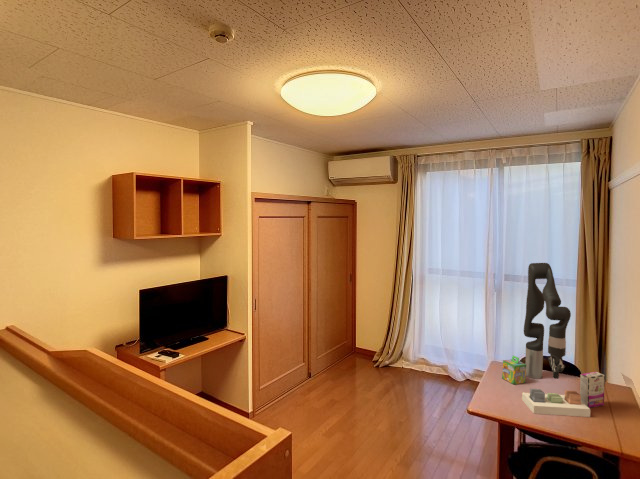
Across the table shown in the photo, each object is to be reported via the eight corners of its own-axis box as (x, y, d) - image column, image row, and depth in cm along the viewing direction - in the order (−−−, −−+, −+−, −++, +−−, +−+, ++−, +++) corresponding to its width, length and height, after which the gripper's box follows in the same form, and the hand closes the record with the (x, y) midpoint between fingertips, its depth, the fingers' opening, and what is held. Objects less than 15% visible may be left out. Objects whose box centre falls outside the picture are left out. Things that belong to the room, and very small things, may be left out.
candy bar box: (594, 401, 194) (596, 371, 193) (604, 405, 189) (605, 375, 188) (578, 403, 191) (579, 373, 190) (587, 408, 186) (589, 377, 186)
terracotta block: (564, 401, 189) (564, 390, 188) (574, 402, 188) (575, 390, 188) (569, 406, 184) (570, 395, 183) (580, 407, 183) (581, 395, 183)
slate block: (529, 399, 191) (530, 388, 190) (539, 400, 190) (540, 389, 190) (534, 404, 186) (534, 393, 185) (544, 405, 185) (544, 393, 185)
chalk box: (501, 378, 222) (502, 354, 221) (513, 376, 225) (514, 353, 224) (513, 385, 213) (514, 360, 212) (526, 383, 216) (526, 358, 215)
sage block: (546, 404, 190) (547, 392, 189) (557, 404, 189) (557, 393, 189) (551, 408, 185) (552, 397, 184) (562, 409, 184) (562, 398, 184)
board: (521, 399, 196) (522, 392, 195) (573, 402, 192) (574, 395, 192) (533, 413, 182) (534, 405, 182) (590, 417, 178) (590, 409, 178)
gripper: (542, 340, 192) (541, 372, 193) (555, 349, 179) (554, 383, 180) (557, 340, 191) (556, 372, 192) (572, 350, 178) (570, 384, 179)
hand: (555, 378), depth 186 cm, fingers closed
